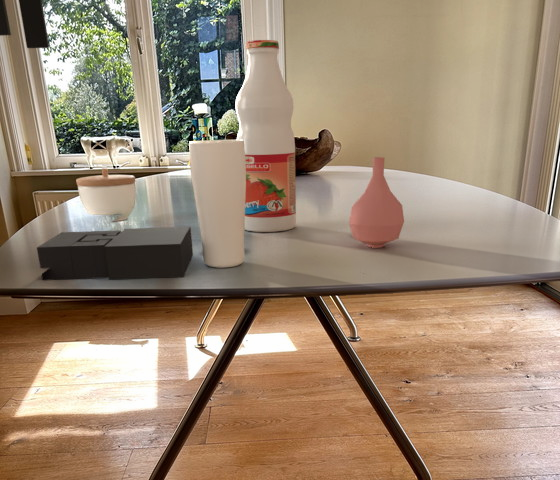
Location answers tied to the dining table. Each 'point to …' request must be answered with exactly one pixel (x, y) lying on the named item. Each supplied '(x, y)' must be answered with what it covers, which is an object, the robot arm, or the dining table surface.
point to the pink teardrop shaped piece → (376, 211)
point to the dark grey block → (74, 256)
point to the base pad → (147, 252)
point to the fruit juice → (267, 141)
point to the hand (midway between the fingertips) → (19, 42)
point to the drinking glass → (220, 199)
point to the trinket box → (108, 194)
